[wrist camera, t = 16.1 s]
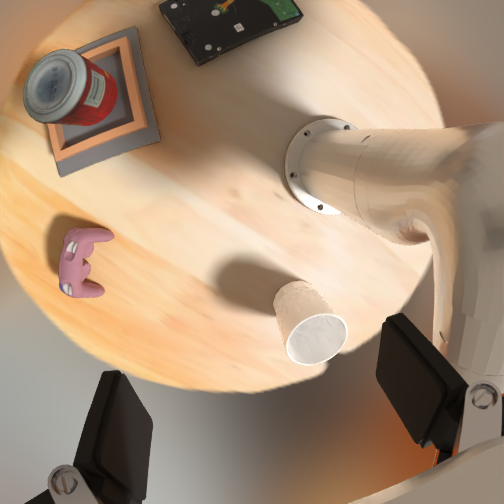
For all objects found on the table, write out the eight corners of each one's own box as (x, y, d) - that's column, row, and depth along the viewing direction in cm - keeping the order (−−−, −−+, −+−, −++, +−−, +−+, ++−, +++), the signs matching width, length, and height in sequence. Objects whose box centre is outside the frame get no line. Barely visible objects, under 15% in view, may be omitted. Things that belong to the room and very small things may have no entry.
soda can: (122, 67, 28) (86, 37, 16) (122, 121, 30) (82, 114, 19) (71, 78, 27) (20, 59, 16) (71, 131, 29) (17, 131, 18)
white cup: (269, 326, 44) (285, 370, 35) (268, 279, 41) (286, 319, 32) (318, 318, 45) (343, 358, 36) (321, 273, 42) (351, 308, 33)
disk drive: (199, 69, 31) (299, 22, 30) (198, 63, 28) (306, 15, 27) (159, 13, 27) (259, -30, 26) (156, 5, 24) (262, -40, 23)
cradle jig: (136, 28, 27) (132, 20, 24) (161, 140, 33) (157, 140, 30) (42, 70, 26) (32, 66, 23) (63, 176, 32) (53, 179, 29)
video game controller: (95, 218, 36) (56, 225, 30) (118, 231, 35) (79, 240, 29) (86, 281, 39) (51, 295, 32) (107, 296, 38) (72, 313, 32)
